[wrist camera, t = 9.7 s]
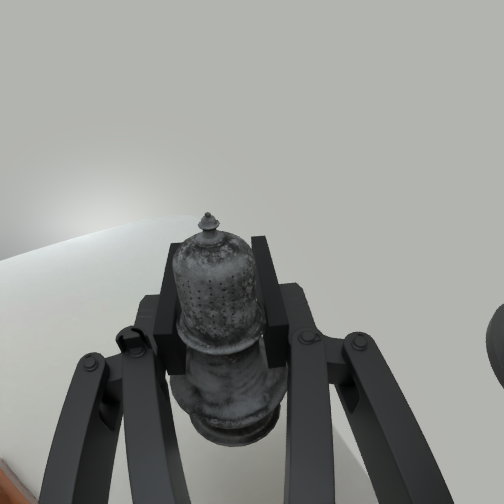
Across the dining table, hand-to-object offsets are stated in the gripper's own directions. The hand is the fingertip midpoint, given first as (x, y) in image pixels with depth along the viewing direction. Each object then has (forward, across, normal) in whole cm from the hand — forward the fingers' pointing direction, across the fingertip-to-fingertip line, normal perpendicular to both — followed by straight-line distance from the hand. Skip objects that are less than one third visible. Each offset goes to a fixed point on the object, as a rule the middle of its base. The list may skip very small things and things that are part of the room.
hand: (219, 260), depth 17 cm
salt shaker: (-5, 0, -7) cm, 9 cm away
